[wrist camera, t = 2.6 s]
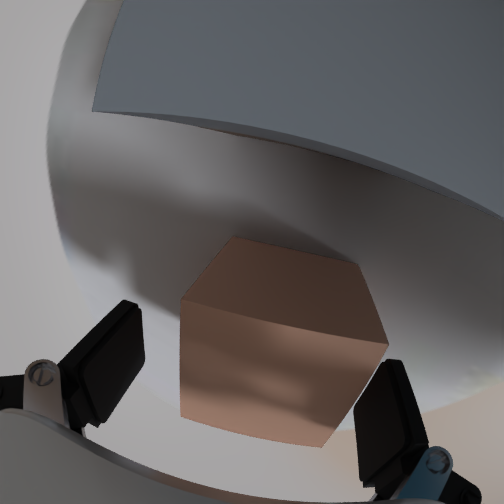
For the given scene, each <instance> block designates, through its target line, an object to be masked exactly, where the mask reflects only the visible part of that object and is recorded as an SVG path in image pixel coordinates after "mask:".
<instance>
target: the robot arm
mask: <svg viewBox="0 0 504 504" xmlns="http://www.w3.org/2000/svg"><path fill="white" fill-rule="evenodd" d="M144 362H145V350H144V339H143V326H142V311H141V309H140V308H138V305H137V304H136V303H133V302H130V301H127V300H122V301H121V302H120V303H119V304H118V305H117V306H116V307H115V308H114V309H112V310H111V311H110V312H109V313H108V314H107V315H106V316H105V317H104V318H103V319H102V320H101V321H100V322H99V323H98V324H97V325H96V326H95V327H94V328H93V329H92V330H91V331H90V332H89V333H88V334H87V335H86V336H85V337H84V338H83V339H82V340H81V341H80V342H79V343H78V344H77V345H76V346H75V347H74V348H73V349H72V350H71V351H70V352H69V353H68V354H67V355H66V356H65V357H64V358H63V359H62V360H61V361H60V362H59V363H58V364H57V365H56V364H55V363H53V362H52V361H50V360H46V359H41V360H36V361H34V362H32V363H31V364H30V365H29V366H28V367H27V369H26V370H25V374H24V375H13V376H2V377H0V504H481V500H482V496H481V492H480V490H479V488H477V487H476V486H475V485H474V484H472V483H470V482H469V481H467V480H466V479H464V478H463V477H461V476H460V475H458V474H457V473H455V472H454V471H452V467H453V459H452V457H451V455H450V453H449V452H448V451H447V450H446V449H444V448H442V447H440V446H433V447H430V448H429V445H428V443H429V441H428V438H427V435H426V431H425V427H424V424H423V421H422V417H421V414H420V411H419V408H418V405H417V402H416V399H415V396H414V393H413V390H412V387H411V384H410V381H409V379H408V376H407V373H406V370H405V368H404V365H403V362H402V361H401V360H396V359H387V360H386V361H385V362H382V363H381V364H380V366H379V367H378V369H377V371H376V372H375V374H374V376H373V377H372V379H371V381H370V382H369V384H368V386H367V387H366V389H365V390H364V392H363V393H362V395H361V397H360V398H359V400H358V401H357V403H356V404H355V406H354V411H353V414H354V422H355V432H356V442H357V453H358V466H359V478H360V481H363V488H365V487H366V488H367V487H375V494H374V495H373V496H372V498H371V499H370V500H369V501H368V502H343V503H321V502H300V501H287V500H278V499H269V498H262V497H255V496H249V495H244V494H238V493H233V492H229V491H224V490H219V489H215V488H211V487H208V486H204V485H200V484H196V483H193V482H190V481H186V480H183V479H180V478H177V477H174V476H171V475H168V474H165V473H162V472H159V471H157V470H154V469H152V468H149V467H147V466H144V465H141V464H139V463H137V462H134V461H132V460H130V459H128V458H125V457H123V456H121V455H119V454H117V453H115V452H113V451H111V450H108V449H106V448H104V447H102V446H100V445H98V444H96V443H95V442H92V441H91V440H89V439H87V438H86V435H85V430H84V427H85V426H86V424H87V423H90V424H91V425H93V426H95V427H97V428H98V427H99V425H100V424H101V423H105V422H106V421H107V419H108V418H109V416H110V415H111V413H112V412H113V410H114V409H115V407H116V406H117V404H118V403H119V401H120V400H121V398H122V397H123V395H124V394H125V392H126V391H127V389H128V388H129V386H130V385H131V383H132V382H133V380H134V379H135V377H136V376H137V374H138V373H139V371H140V370H141V368H142V367H143V365H144Z"/></svg>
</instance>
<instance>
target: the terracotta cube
mask: <svg viewBox="0 0 504 504" xmlns="http://www.w3.org/2000/svg"><path fill="white" fill-rule="evenodd" d="M388 346H389V343H388V340H387V337H386V334H385V331H384V329H383V326H382V323H381V320H380V318H379V315H378V312H377V310H376V307H375V304H374V302H373V299H372V297H371V294H370V292H369V289H368V287H367V284H366V282H365V279H364V277H363V275H362V272H361V270H360V267H359V265H358V264H354V263H350V262H346V261H341V260H337V259H333V258H328V257H324V256H319V255H315V254H311V253H306V252H302V251H297V250H293V249H288V248H284V247H279V246H275V245H270V244H266V243H261V242H257V241H252V240H248V239H243V238H238V237H234V236H233V237H232V238H231V239H230V240H229V241H228V243H227V244H226V245H225V246H224V247H223V248H222V250H221V251H220V252H219V253H218V255H217V256H216V257H215V258H214V259H213V261H212V262H211V263H210V264H209V265H208V267H207V268H206V269H205V270H204V271H203V273H202V274H201V275H200V276H199V278H198V279H197V280H196V281H195V282H194V284H193V285H192V286H191V287H190V289H189V290H188V291H187V292H186V294H185V295H184V296H183V297H182V299H181V314H180V411H181V417H184V418H187V419H189V420H193V421H196V422H199V423H203V424H206V425H209V426H212V427H216V428H220V429H223V430H227V431H230V432H234V433H238V434H243V435H247V436H252V437H256V438H261V439H266V440H271V441H277V442H283V443H289V444H295V445H303V446H311V447H320V448H322V447H323V445H324V444H325V443H326V442H327V440H328V439H329V438H330V436H331V435H332V434H333V432H334V431H335V430H336V428H337V427H338V426H339V424H340V423H341V422H342V420H343V419H344V417H345V416H346V414H347V413H348V412H349V410H350V409H351V407H352V406H353V404H354V403H355V401H356V400H357V398H358V397H359V395H360V394H361V392H362V390H363V389H364V387H365V386H366V384H367V382H368V381H369V379H370V377H371V376H372V374H373V372H374V371H375V369H376V367H377V365H378V364H379V362H380V360H381V358H382V357H383V355H384V353H385V351H386V349H387V347H388Z"/></svg>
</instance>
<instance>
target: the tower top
mask: <svg viewBox="0 0 504 504" xmlns="http://www.w3.org/2000/svg"><path fill="white" fill-rule="evenodd" d="M92 112H103V113H114V114H123V115H131V116H139V117H146V118H153V119H159V120H165V121H171V122H177V123H183V124H188V125H193V126H198V127H205V128H211V129H218V130H224V131H230V132H235V133H241V134H246V135H251V136H256V137H261V138H266V139H271V140H275V141H279V142H284V143H288V144H292V145H296V146H300V147H304V148H308V149H312V150H316V151H319V152H323V153H326V154H330V155H333V156H337V157H340V158H343V159H347V160H350V161H353V162H356V163H359V164H362V165H365V166H368V167H371V168H374V169H377V170H380V171H383V172H386V173H388V174H391V175H394V176H396V177H399V178H402V179H404V180H407V181H409V182H412V183H414V184H417V185H419V186H422V187H424V188H427V189H429V190H431V191H434V192H437V193H439V194H442V195H444V196H447V197H450V198H452V199H455V200H457V201H460V202H462V203H464V204H467V205H469V206H471V207H474V208H476V209H478V210H481V211H483V212H485V213H487V214H489V215H492V216H494V217H496V218H498V219H500V220H502V221H504V0H124V1H123V4H122V6H121V9H120V11H119V14H118V17H117V19H116V22H115V25H114V28H113V31H112V34H111V37H110V40H109V43H108V46H107V49H106V53H105V56H104V60H103V63H102V67H101V71H100V75H99V79H98V84H97V88H96V93H95V97H94V103H93V108H92Z"/></svg>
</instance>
